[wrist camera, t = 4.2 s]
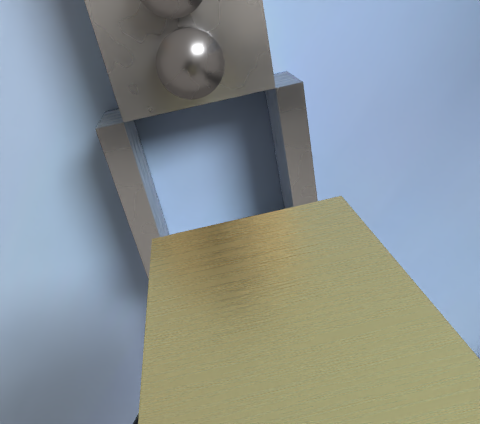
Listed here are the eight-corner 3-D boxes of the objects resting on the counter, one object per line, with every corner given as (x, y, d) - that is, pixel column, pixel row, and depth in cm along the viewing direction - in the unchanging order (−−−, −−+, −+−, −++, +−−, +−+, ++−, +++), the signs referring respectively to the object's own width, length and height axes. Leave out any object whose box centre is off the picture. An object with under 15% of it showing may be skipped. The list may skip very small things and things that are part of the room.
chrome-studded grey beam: (323, 337, 25) (343, 384, 22) (191, 370, 24) (194, 421, 21) (254, -165, 14) (274, -206, 11) (27, -119, 14) (-11, -148, 11)
